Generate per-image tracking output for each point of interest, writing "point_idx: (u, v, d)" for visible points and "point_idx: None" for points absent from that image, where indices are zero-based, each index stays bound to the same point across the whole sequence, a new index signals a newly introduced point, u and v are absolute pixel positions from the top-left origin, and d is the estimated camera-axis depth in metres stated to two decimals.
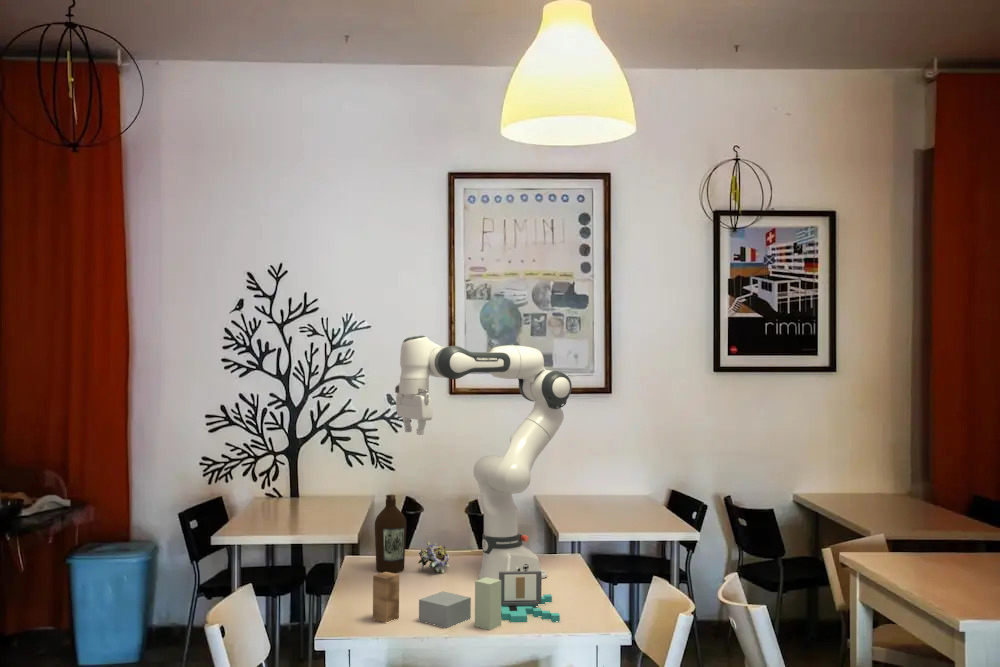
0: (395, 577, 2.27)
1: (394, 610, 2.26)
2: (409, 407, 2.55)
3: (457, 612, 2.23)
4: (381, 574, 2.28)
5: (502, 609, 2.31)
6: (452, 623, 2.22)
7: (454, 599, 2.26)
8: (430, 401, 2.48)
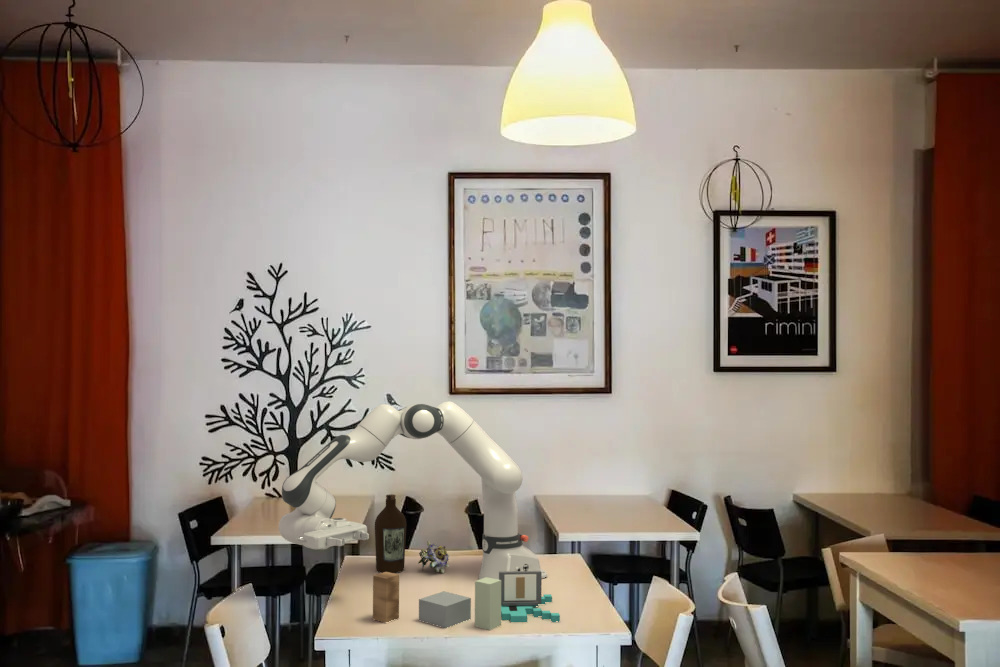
0: (395, 577, 2.27)
1: (394, 610, 2.26)
2: None
3: (456, 612, 2.23)
4: (381, 574, 2.28)
5: (502, 609, 2.31)
6: (451, 623, 2.21)
7: (454, 599, 2.26)
8: (304, 536, 2.33)
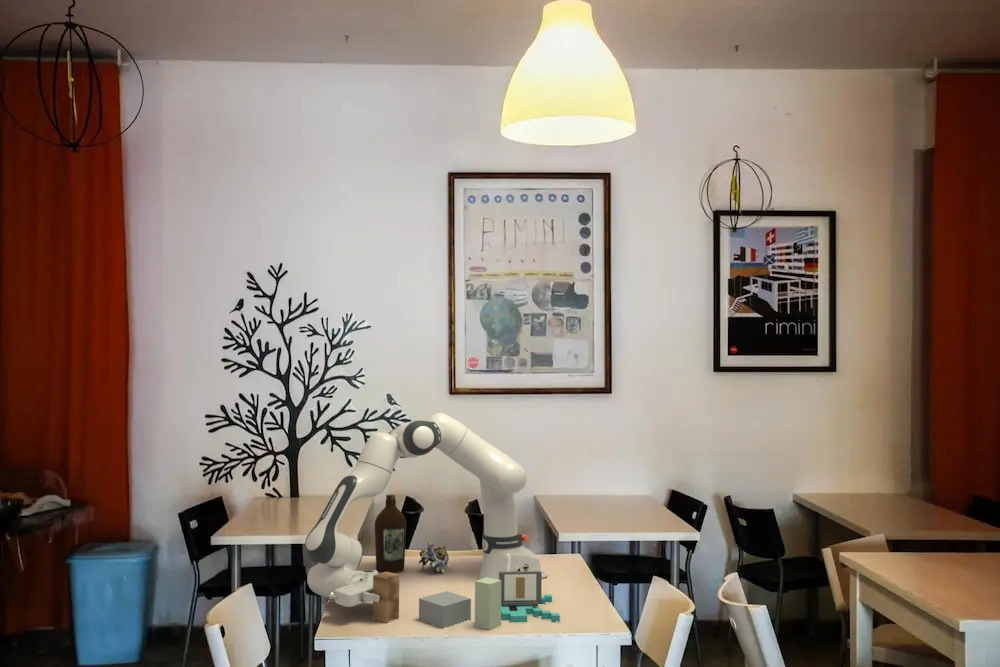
0: (395, 577, 2.27)
1: (394, 610, 2.26)
2: None
3: (455, 613, 2.23)
4: (381, 574, 2.28)
5: (502, 609, 2.30)
6: (449, 623, 2.21)
7: (453, 600, 2.25)
8: (336, 592, 2.25)
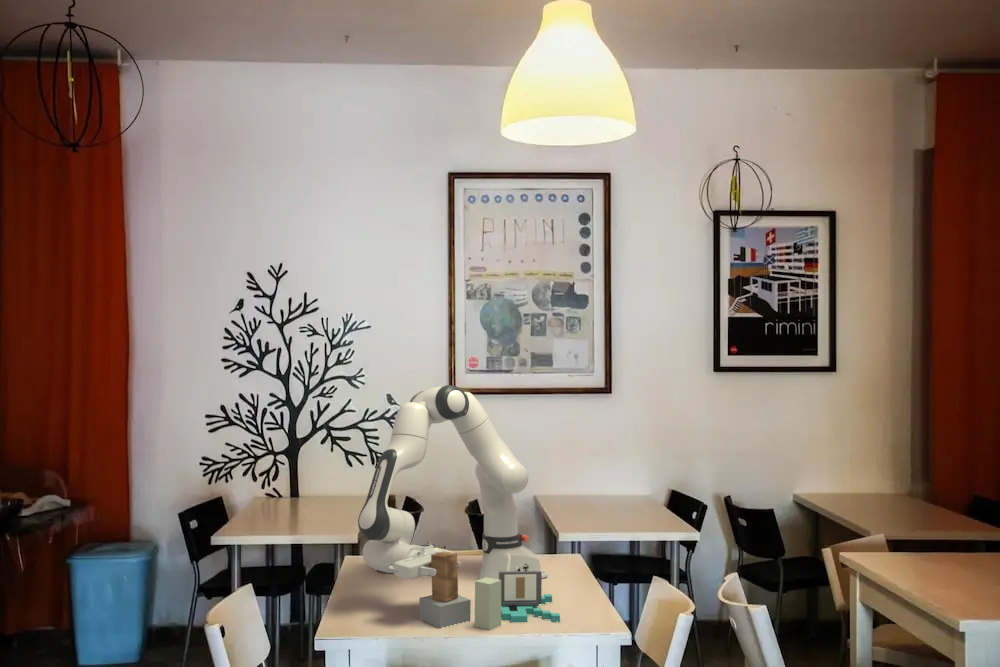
0: (453, 556, 2.27)
1: (454, 589, 2.26)
2: None
3: (453, 613, 2.22)
4: (439, 553, 2.28)
5: (502, 609, 2.30)
6: (447, 624, 2.21)
7: (452, 600, 2.25)
8: (396, 565, 2.25)
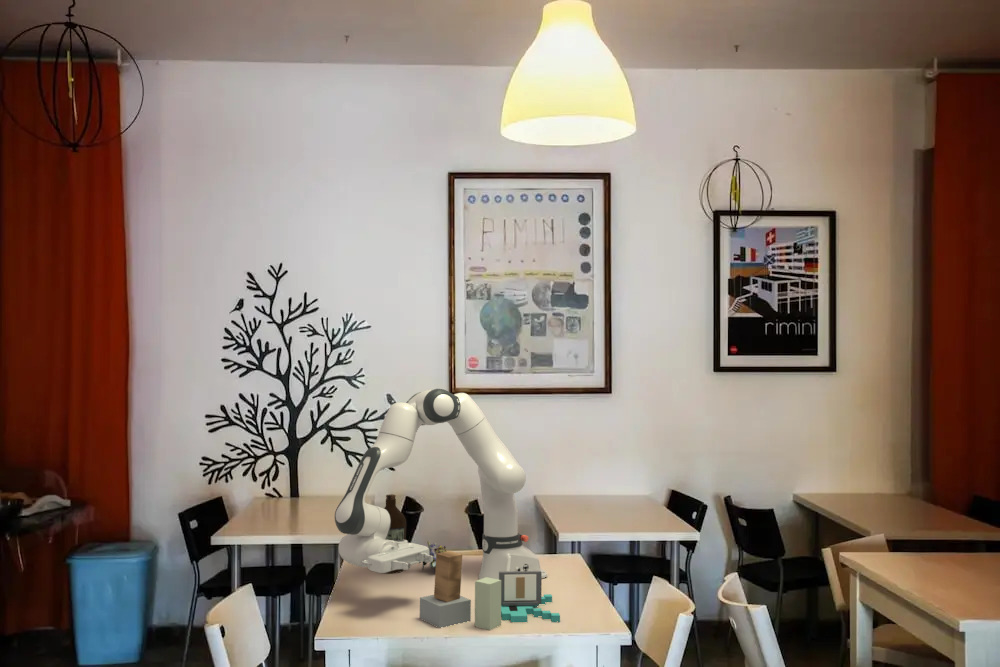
0: (458, 557, 2.26)
1: (456, 589, 2.26)
2: None
3: (452, 613, 2.22)
4: (444, 553, 2.28)
5: (502, 609, 2.30)
6: (446, 624, 2.21)
7: (453, 600, 2.25)
8: (369, 559, 2.31)
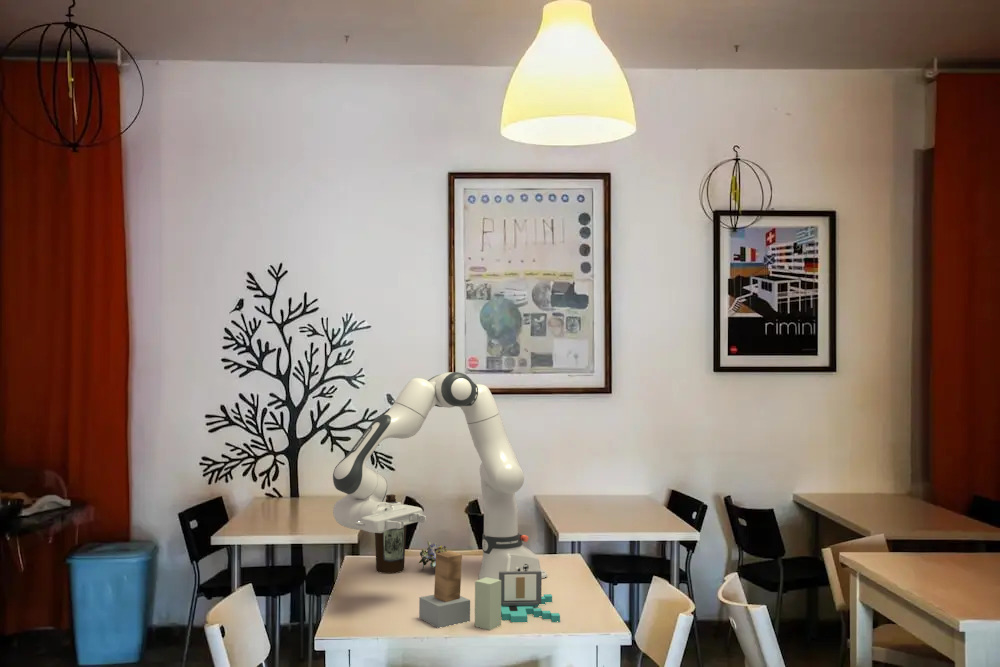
0: (457, 557, 2.26)
1: (455, 589, 2.26)
2: None
3: (452, 613, 2.22)
4: (444, 553, 2.28)
5: (502, 609, 2.30)
6: (445, 624, 2.21)
7: (452, 600, 2.25)
8: (363, 520, 2.33)
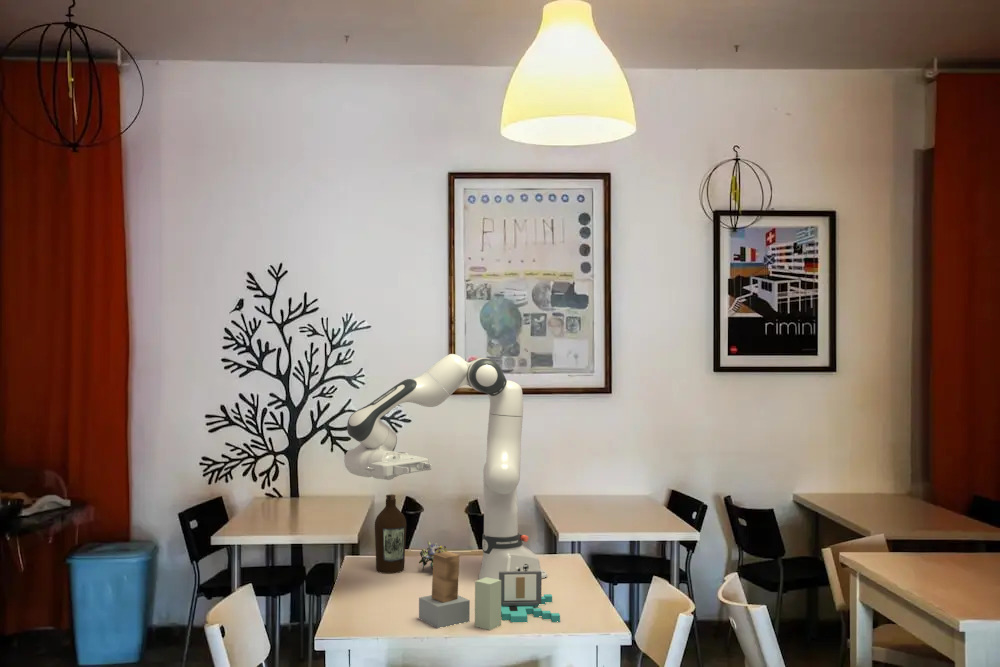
0: (455, 557, 2.26)
1: (453, 590, 2.25)
2: None
3: (451, 614, 2.22)
4: (442, 553, 2.27)
5: (502, 609, 2.30)
6: (445, 624, 2.21)
7: (451, 601, 2.25)
8: (372, 465, 2.48)
